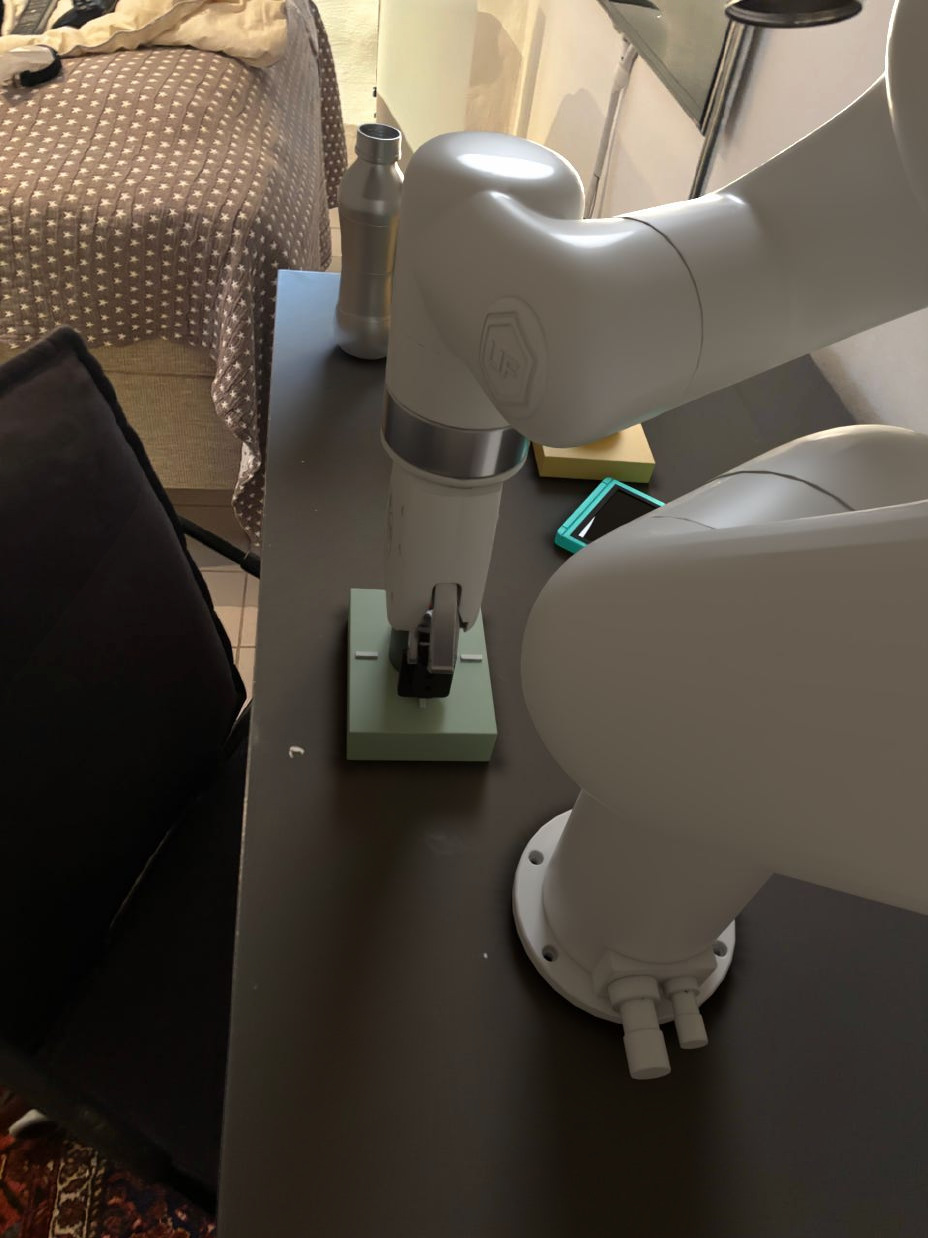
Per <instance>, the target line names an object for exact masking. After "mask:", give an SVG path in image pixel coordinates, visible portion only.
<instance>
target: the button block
mask: <svg viewBox="0 0 928 1238" xmlns="http://www.w3.org/2000/svg"><path fill="white" fill-rule="evenodd" d="M531 443H532V448H533V452H534V458H535V462H536V464H537V470H538V475H539V477H547V478H561V479H562V478H563V479H564V478H565V479H579V480H594V481H595V480H596V481H603V480H604V479H605V478H607V477H610V478H612V480H614V479H615V480H617V481H619V482H627V483H628V482H629V483H643V484H649V483H650V479H651V477H652V475H653V473H654V469H655V466H656V461H655V458H654V456H653V453H652V450H651V448H650V445H649V442H648V439H647V437H646V434H645V431H644V429H643V426H642V423H639V424H637V425H634V426H632V427H630V428H627V429H625V430H622V431H620V432H617V433H615V434H612V435H610V436H607V437H605V438H603V439H600V440H598V441H595V442H592V443H589V444H585V445H582V446H578V447H570V448H552V447H547V446H543V445H540V444H537V443H535V442H533V441H531Z"/></svg>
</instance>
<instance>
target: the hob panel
mask: <svg viewBox="0 0 928 1238" xmlns="http://www.w3.org/2000/svg"><path fill="white" fill-rule="evenodd" d="M483 620H484V619H483V614H482V606H481V607H480V610H479V614H478V617H477V620H476V622H475V624H474V626H473V627H472V628H471V629H470V630H468V631H467V632H464V631H463V629H461V628H460V631H459V640H458V649H457V660H456V665H455V670H454V675H453V679H452V684H451V689H450V693H449V696H447V697H445V698H430V699H422V698H417V697H401V696H399V695H398V693H397V685H398V677H399V672H398V671H397V670H396V669H395V668H394V667H393V666H392V664H391V662H390V659H389V647H390V639H391V630H392V626H391V625H390V623H389V622H388V619H387V610H386V589H377V588H375V589H373V588H350V589H349V598H348V612H347V678H346V679H347V685H346V686H347V691H346V694H347V696H346V760H347V761H409V762H410V761H412V762H413V761H417V762H418V761H419V762H420V761H424V762H426V761H428V762H430V761H431V762H490V760H491V757H492V754H493V751H494V747H495V744H496V740H497V738H498V727H497V721H496V713H495V706H494V697H493V690H492V683H491V676H490V667H489V658H488V652H487V643H486V635H485V629H484V628H485V627H484V622H483Z"/></svg>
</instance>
